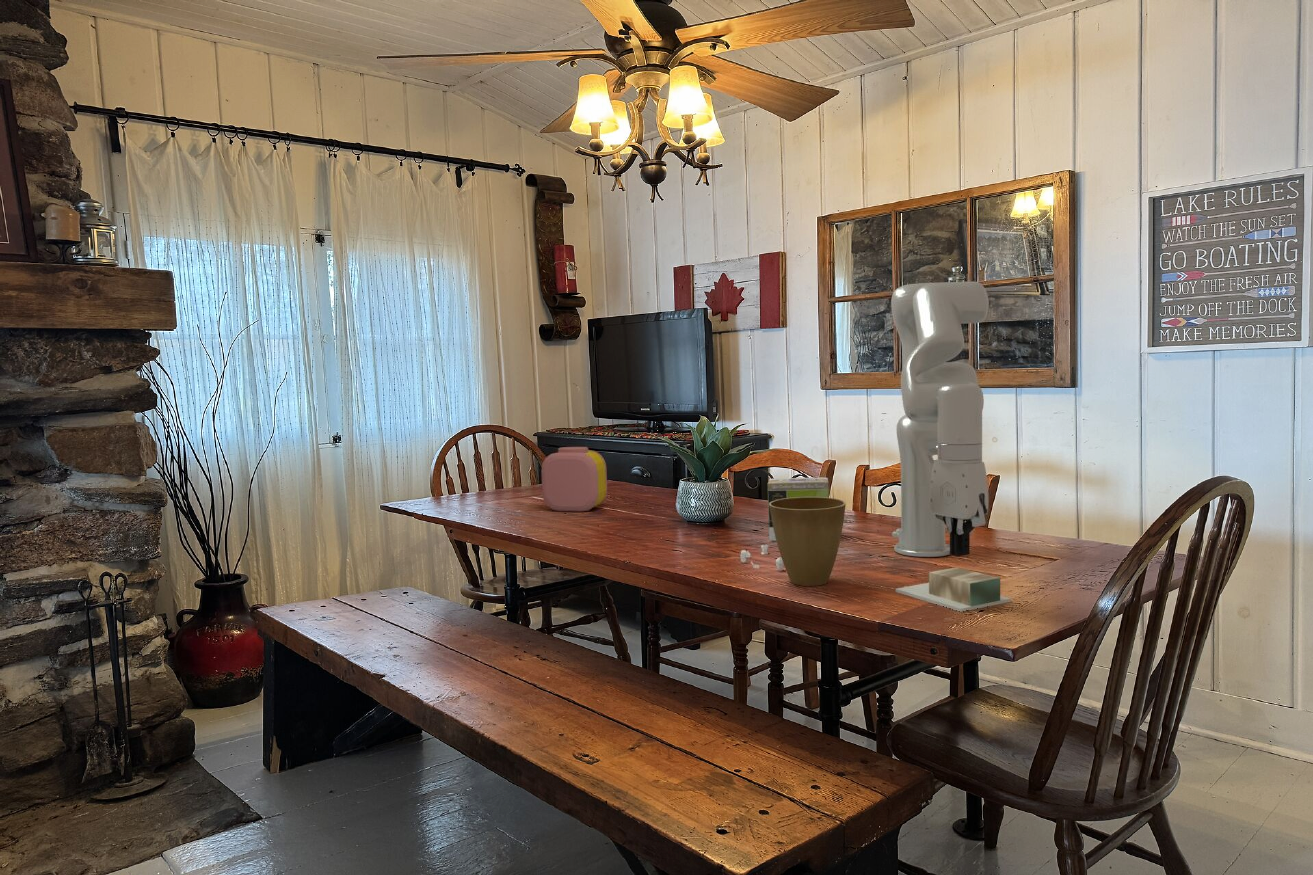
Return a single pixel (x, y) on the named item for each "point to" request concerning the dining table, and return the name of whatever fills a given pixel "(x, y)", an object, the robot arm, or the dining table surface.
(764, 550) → the game piece set
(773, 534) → the tea box
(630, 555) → the dining table surface
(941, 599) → the rubber mat
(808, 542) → the plant pot
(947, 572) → the beige and green box
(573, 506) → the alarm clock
